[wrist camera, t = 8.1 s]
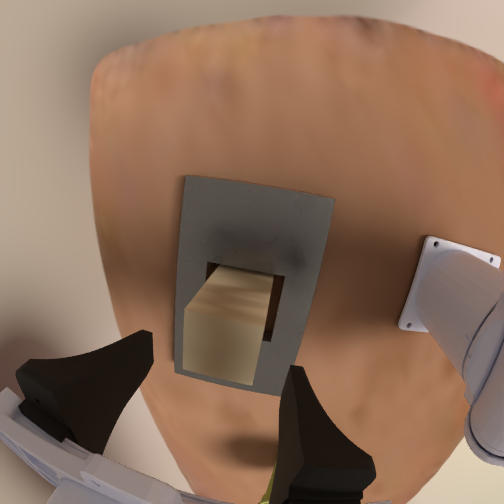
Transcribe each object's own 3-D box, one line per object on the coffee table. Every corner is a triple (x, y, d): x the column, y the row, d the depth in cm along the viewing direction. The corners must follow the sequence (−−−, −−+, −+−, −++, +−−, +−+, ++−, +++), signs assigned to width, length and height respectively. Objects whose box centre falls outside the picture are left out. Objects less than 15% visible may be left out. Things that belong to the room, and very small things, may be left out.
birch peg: (274, 271, 20) (264, 326, 13) (265, 317, 21) (252, 385, 14) (222, 261, 21) (184, 309, 13) (216, 308, 22) (182, 369, 14)
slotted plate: (331, 197, 18) (335, 199, 17) (284, 386, 23) (283, 396, 22) (193, 175, 19) (185, 175, 18) (180, 363, 24) (174, 372, 23)
